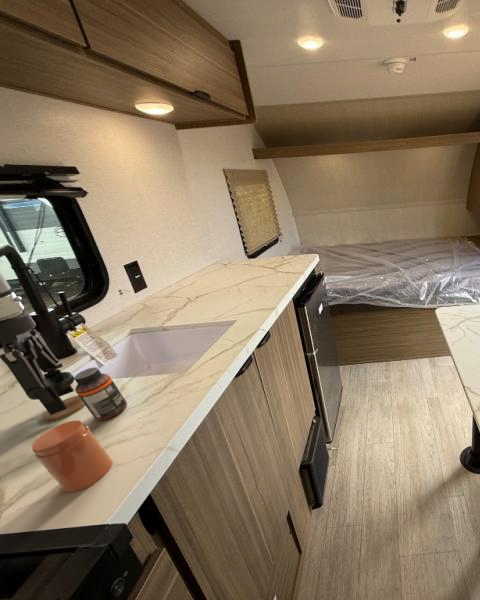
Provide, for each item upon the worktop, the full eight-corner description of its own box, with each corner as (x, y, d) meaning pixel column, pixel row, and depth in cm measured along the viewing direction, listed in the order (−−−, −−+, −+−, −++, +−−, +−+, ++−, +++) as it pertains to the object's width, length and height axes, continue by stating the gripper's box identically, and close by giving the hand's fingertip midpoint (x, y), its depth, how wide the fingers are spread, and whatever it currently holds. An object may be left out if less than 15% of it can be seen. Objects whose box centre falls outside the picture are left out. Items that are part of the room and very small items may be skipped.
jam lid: (61, 394, 71) (56, 387, 70) (20, 404, 70) (15, 397, 69) (82, 374, 78) (78, 368, 77) (45, 383, 76) (40, 376, 76)
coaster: (34, 422, 73) (32, 419, 73) (69, 397, 80) (67, 395, 80) (65, 420, 72) (63, 417, 72) (97, 396, 80) (95, 393, 79)
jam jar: (53, 493, 55) (17, 452, 51) (90, 458, 61) (60, 419, 57) (88, 492, 54) (54, 450, 50) (121, 457, 60) (94, 418, 56)
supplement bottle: (100, 409, 74) (74, 370, 70) (130, 399, 77) (107, 360, 72) (91, 426, 70) (62, 385, 65) (124, 414, 72) (98, 374, 67)
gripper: (9, 326, 60) (75, 417, 70) (38, 298, 76) (89, 375, 85) (-51, 343, 56) (28, 436, 66) (-7, 309, 72) (52, 388, 81)
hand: (62, 401), depth 76 cm, fingers closed on jam lid, 7 cm apart
